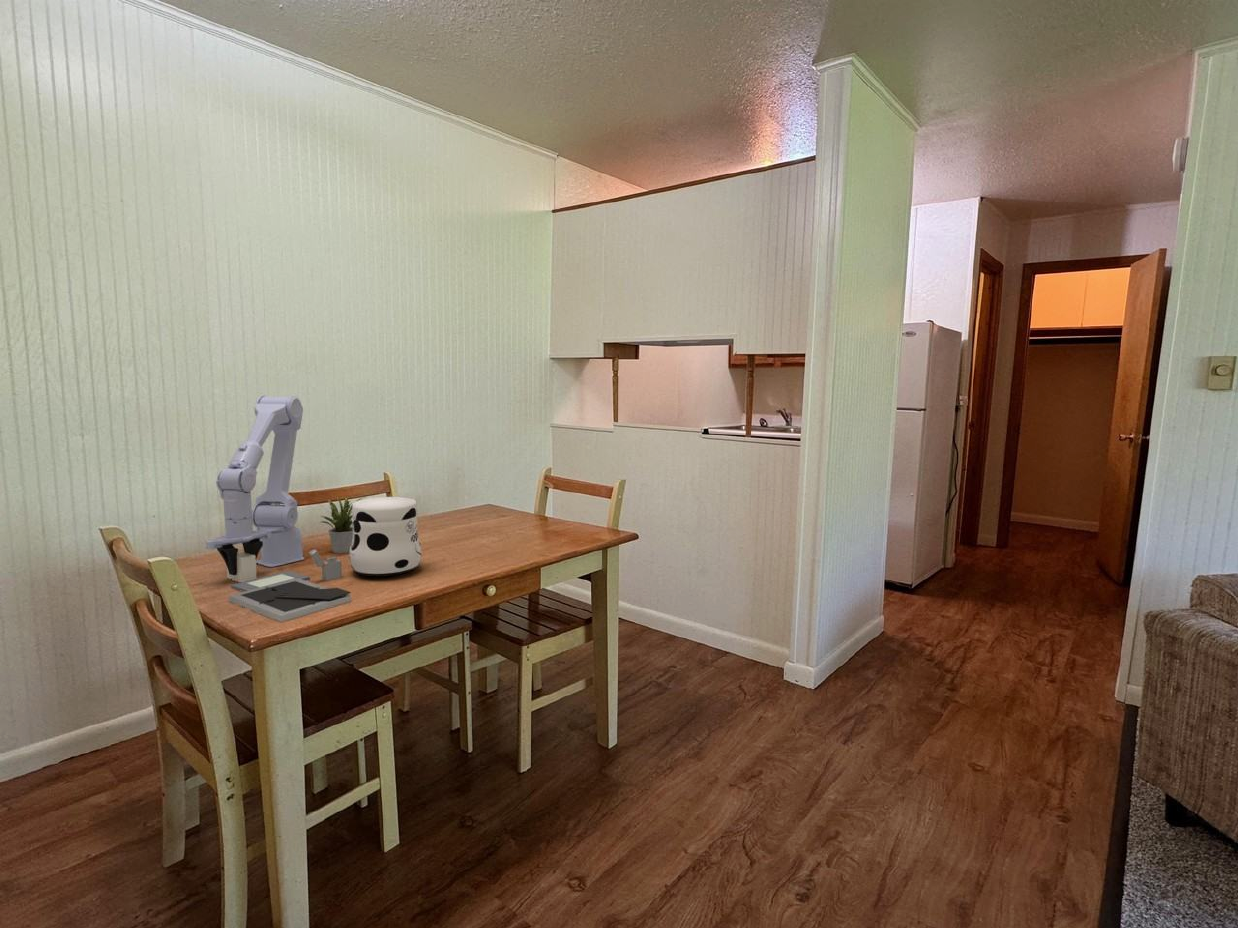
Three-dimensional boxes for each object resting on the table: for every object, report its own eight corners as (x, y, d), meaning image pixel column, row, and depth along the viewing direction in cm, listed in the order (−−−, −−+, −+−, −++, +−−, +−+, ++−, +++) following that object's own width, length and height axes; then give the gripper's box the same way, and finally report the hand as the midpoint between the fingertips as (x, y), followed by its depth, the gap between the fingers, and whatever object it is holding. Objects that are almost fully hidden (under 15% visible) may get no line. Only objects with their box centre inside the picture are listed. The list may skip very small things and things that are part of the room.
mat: (288, 573, 164) (288, 570, 164) (309, 579, 160) (309, 576, 160) (231, 587, 152) (230, 584, 152) (252, 594, 148) (252, 591, 148)
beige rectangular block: (241, 574, 162) (240, 551, 161) (256, 579, 159) (255, 555, 158) (227, 578, 159) (225, 554, 158) (242, 583, 156) (240, 558, 155)
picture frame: (351, 604, 145) (298, 586, 156) (350, 592, 144) (297, 575, 156) (281, 625, 132) (229, 604, 143) (280, 612, 131) (228, 592, 143)
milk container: (436, 568, 170) (435, 500, 168) (381, 585, 156) (379, 511, 153) (390, 558, 179) (388, 493, 177) (335, 573, 164) (332, 503, 162)
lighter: (338, 576, 163) (337, 544, 162) (342, 577, 162) (341, 545, 161) (309, 582, 157) (308, 549, 156) (312, 583, 156) (311, 551, 155)
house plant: (383, 545, 192) (381, 490, 190) (360, 558, 179) (358, 499, 177) (337, 543, 194) (335, 489, 192) (310, 556, 180) (308, 497, 178)
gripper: (215, 525, 149) (219, 582, 151) (277, 514, 161) (280, 568, 163) (199, 521, 153) (203, 577, 154) (261, 511, 165) (263, 563, 167)
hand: (241, 572), depth 159 cm, fingers closed on beige rectangular block, 3 cm apart
